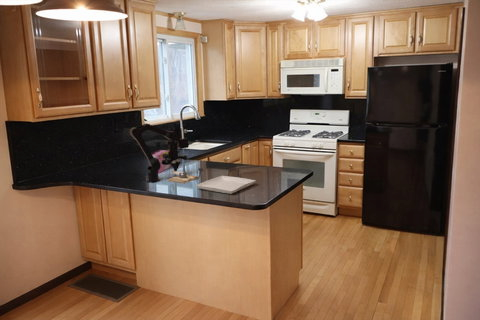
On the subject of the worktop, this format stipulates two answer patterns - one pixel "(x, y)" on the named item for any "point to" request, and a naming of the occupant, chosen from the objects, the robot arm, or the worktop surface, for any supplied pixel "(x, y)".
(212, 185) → the square plate
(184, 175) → the wooden latch lever
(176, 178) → the board
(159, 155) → the gum box
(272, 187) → the worktop surface
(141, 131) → the robot arm
